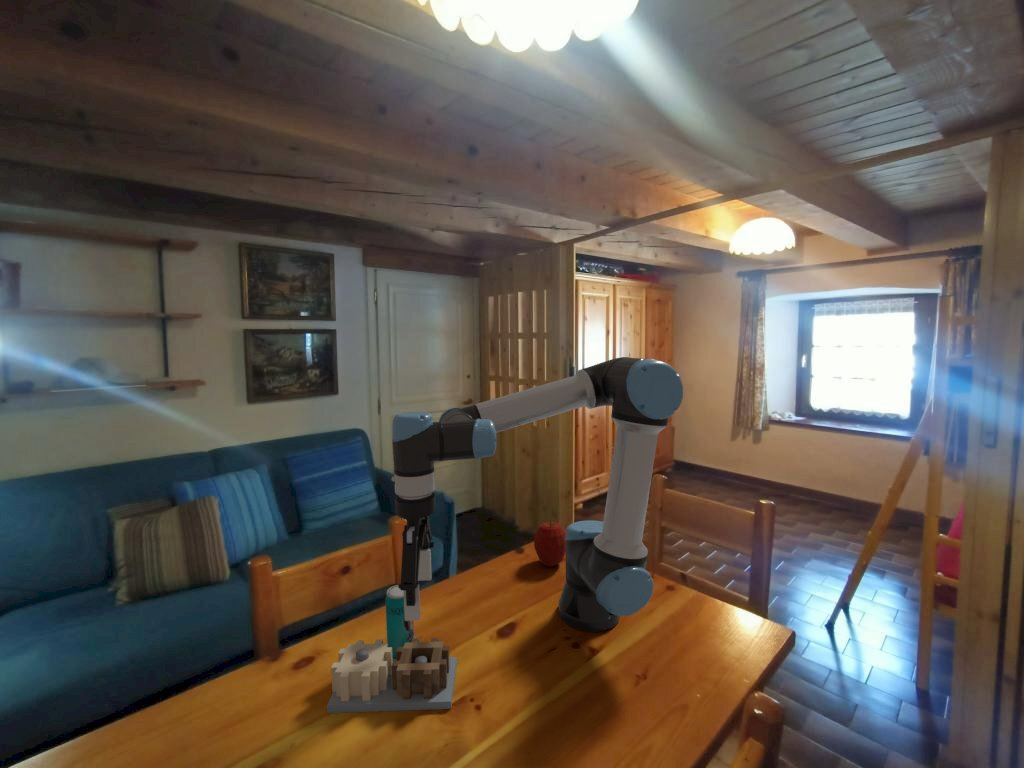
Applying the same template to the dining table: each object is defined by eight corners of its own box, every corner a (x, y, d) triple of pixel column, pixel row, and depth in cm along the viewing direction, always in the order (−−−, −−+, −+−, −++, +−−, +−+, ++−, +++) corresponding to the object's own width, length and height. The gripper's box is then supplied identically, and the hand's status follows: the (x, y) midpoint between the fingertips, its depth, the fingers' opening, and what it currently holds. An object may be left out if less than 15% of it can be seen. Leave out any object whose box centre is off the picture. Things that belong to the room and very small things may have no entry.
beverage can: (408, 666, 98) (405, 599, 96) (383, 662, 99) (380, 596, 97) (418, 648, 103) (416, 584, 102) (395, 645, 104) (392, 582, 103)
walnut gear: (450, 659, 97) (450, 637, 97) (444, 698, 87) (444, 673, 86) (401, 661, 97) (400, 638, 97) (389, 699, 87) (388, 675, 86)
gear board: (457, 663, 98) (456, 630, 98) (451, 708, 86) (450, 671, 86) (347, 666, 98) (345, 633, 97) (326, 712, 86) (324, 675, 85)
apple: (571, 570, 136) (571, 525, 135) (538, 573, 135) (538, 528, 133) (562, 554, 147) (562, 512, 145) (531, 557, 145) (530, 514, 143)
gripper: (408, 473, 100) (412, 566, 103) (378, 519, 75) (384, 640, 78) (442, 473, 100) (445, 565, 103) (424, 518, 76) (428, 639, 78)
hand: (419, 598), depth 90 cm, fingers open, 13 cm apart
